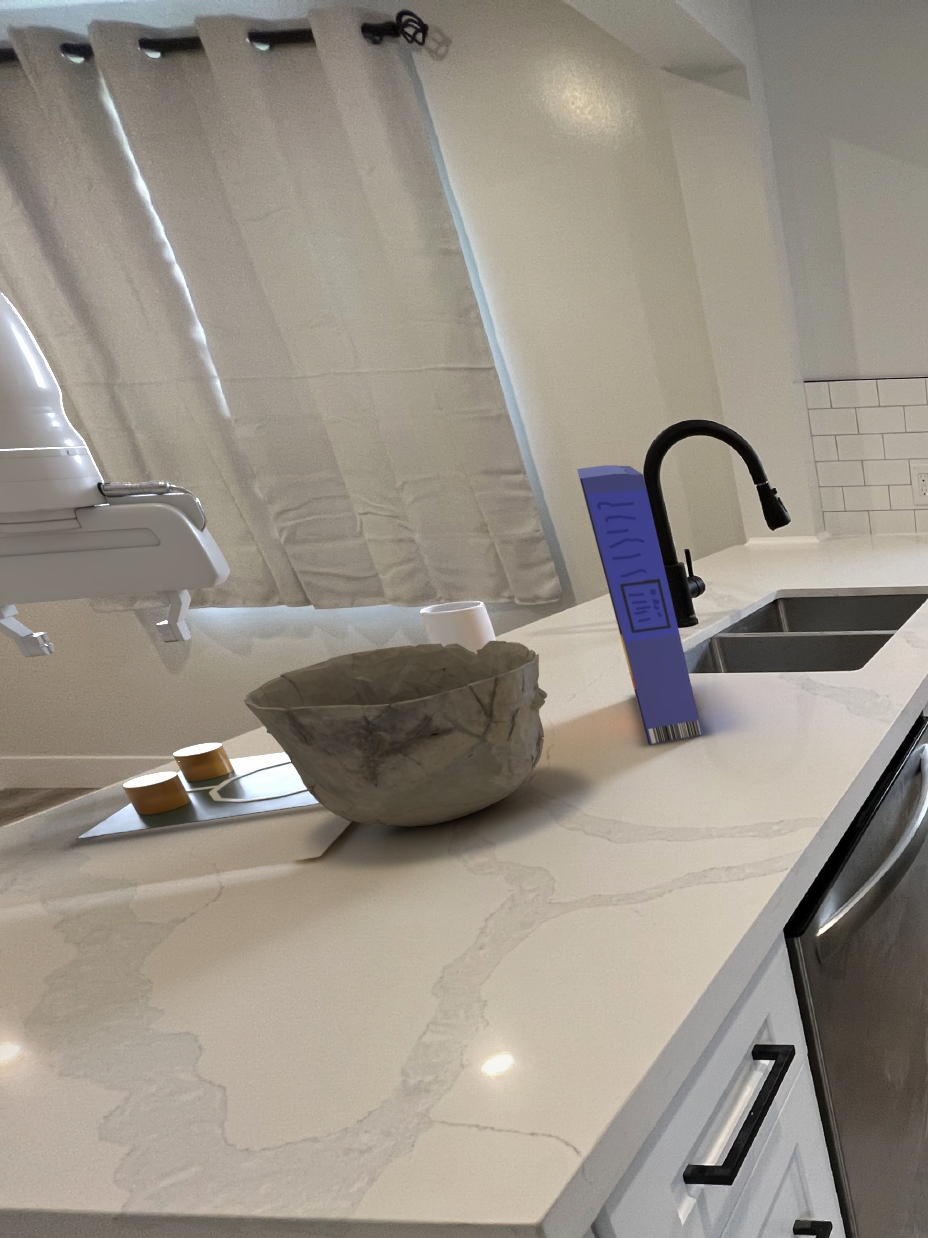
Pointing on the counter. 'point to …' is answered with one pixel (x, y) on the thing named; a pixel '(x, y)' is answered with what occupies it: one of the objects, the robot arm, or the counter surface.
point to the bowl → (409, 729)
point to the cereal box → (641, 600)
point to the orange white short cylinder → (156, 793)
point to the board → (223, 796)
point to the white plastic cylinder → (459, 624)
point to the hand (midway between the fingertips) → (111, 647)
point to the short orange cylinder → (203, 762)
